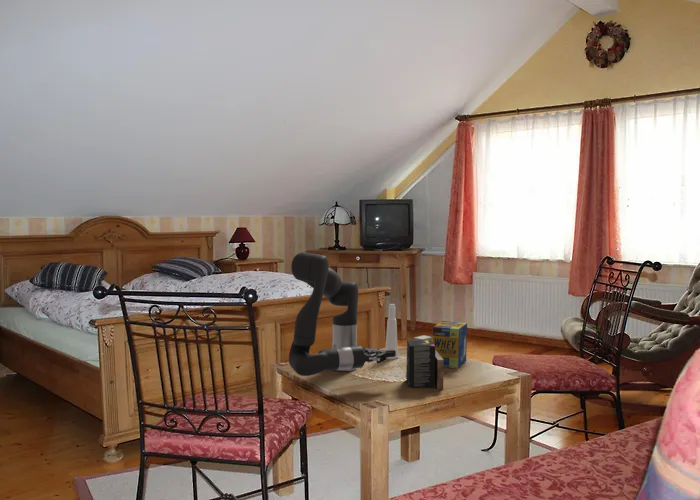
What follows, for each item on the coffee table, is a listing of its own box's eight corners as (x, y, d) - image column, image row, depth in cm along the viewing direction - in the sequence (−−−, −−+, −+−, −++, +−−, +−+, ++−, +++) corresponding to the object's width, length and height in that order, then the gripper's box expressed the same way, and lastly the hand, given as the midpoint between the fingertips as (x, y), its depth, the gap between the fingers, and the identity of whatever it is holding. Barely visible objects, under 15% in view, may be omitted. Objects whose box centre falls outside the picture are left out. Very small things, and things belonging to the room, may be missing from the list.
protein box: (431, 366, 262) (432, 326, 261) (441, 358, 276) (442, 320, 275) (458, 369, 258) (459, 328, 257) (466, 360, 273) (467, 322, 272)
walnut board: (437, 388, 230) (437, 359, 229) (428, 375, 248) (429, 348, 247) (443, 388, 230) (443, 359, 229) (434, 375, 248) (434, 348, 247)
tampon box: (435, 388, 231) (436, 345, 230) (408, 388, 231) (409, 345, 230) (431, 379, 242) (432, 339, 241) (406, 379, 242) (406, 339, 241)
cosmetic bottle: (398, 359, 273) (399, 305, 271) (383, 359, 274) (384, 305, 272) (399, 356, 279) (400, 303, 277) (384, 355, 280) (385, 303, 278)
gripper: (356, 351, 220) (403, 346, 227) (340, 342, 233) (386, 338, 239) (356, 373, 221) (403, 368, 228) (340, 363, 233) (386, 359, 240)
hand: (394, 352), depth 233 cm, fingers closed
